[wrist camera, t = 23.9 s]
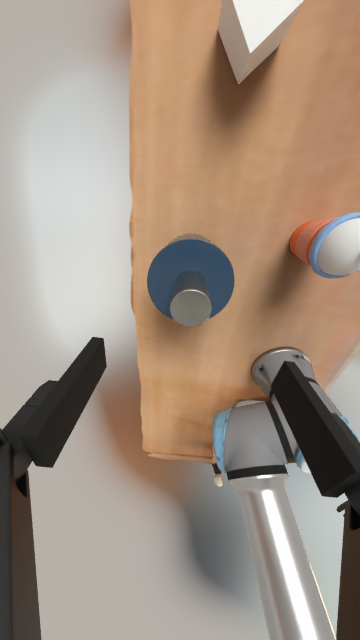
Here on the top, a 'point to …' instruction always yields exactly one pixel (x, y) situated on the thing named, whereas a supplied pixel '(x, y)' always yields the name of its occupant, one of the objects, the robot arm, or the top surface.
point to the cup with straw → (329, 245)
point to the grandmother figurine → (216, 470)
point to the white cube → (253, 30)
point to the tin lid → (190, 281)
